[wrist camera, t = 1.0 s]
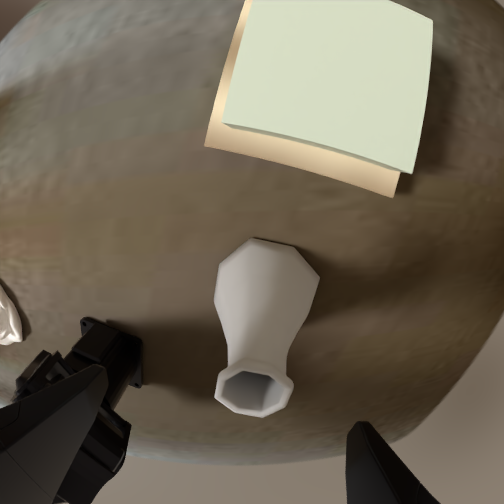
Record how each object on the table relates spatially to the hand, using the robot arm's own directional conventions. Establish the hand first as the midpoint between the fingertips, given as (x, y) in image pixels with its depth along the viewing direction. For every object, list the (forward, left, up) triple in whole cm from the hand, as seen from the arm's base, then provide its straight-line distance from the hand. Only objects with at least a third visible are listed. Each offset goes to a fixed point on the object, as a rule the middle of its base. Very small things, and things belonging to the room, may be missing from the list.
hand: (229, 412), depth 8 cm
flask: (-1, -1, -12) cm, 12 cm away
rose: (-15, +30, -13) cm, 35 cm away
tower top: (+13, -1, -10) cm, 16 cm away
